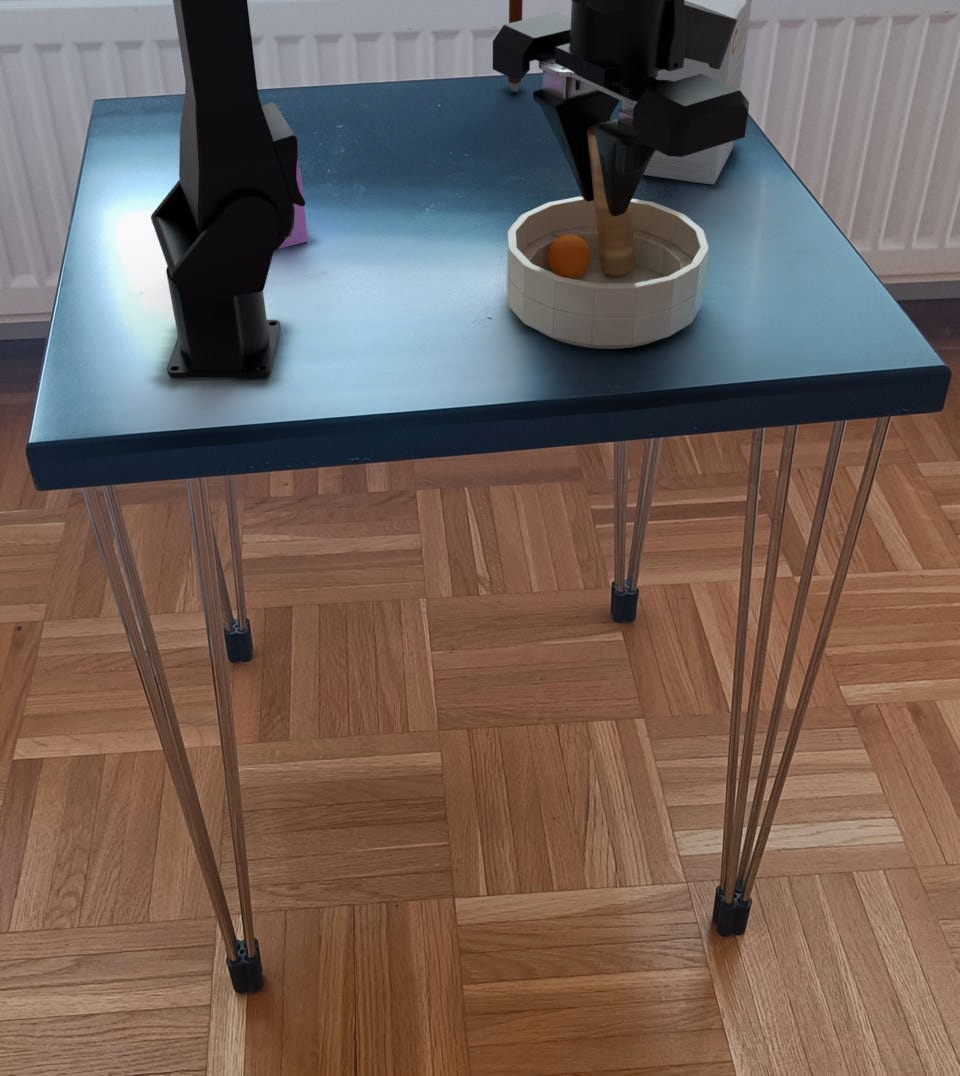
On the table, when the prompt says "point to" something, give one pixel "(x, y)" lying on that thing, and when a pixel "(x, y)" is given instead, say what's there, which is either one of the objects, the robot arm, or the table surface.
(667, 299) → the bowl
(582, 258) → the ball
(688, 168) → the small box
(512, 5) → the magnifying glass
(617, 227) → the stirring stick
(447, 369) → the table surface
